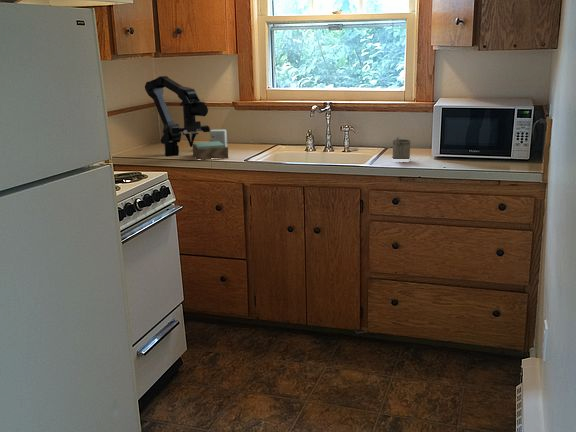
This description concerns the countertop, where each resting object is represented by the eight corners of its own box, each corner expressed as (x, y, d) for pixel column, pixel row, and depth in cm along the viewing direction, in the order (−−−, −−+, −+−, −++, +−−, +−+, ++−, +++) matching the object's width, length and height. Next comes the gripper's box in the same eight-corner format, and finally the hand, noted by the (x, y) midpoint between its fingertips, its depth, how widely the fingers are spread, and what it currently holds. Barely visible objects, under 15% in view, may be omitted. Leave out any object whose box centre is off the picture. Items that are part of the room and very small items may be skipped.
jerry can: (394, 158, 304) (395, 133, 301) (414, 160, 300) (415, 134, 296) (384, 163, 292) (385, 138, 288) (404, 165, 287) (405, 139, 284)
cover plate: (198, 149, 305) (197, 146, 305) (194, 145, 317) (193, 142, 317) (224, 148, 309) (224, 145, 309) (219, 144, 321) (219, 141, 321)
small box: (227, 148, 337) (226, 129, 334) (225, 150, 331) (224, 130, 328) (212, 148, 337) (211, 129, 335) (210, 150, 332) (209, 130, 329)
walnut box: (198, 160, 305) (197, 149, 304) (193, 155, 320) (192, 144, 318) (228, 158, 309) (227, 147, 308) (222, 153, 324) (221, 142, 323)
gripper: (171, 117, 296) (173, 150, 301) (211, 116, 301) (212, 148, 306) (169, 115, 307) (171, 147, 311) (207, 113, 312) (208, 144, 316)
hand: (191, 146), depth 310 cm, fingers closed
